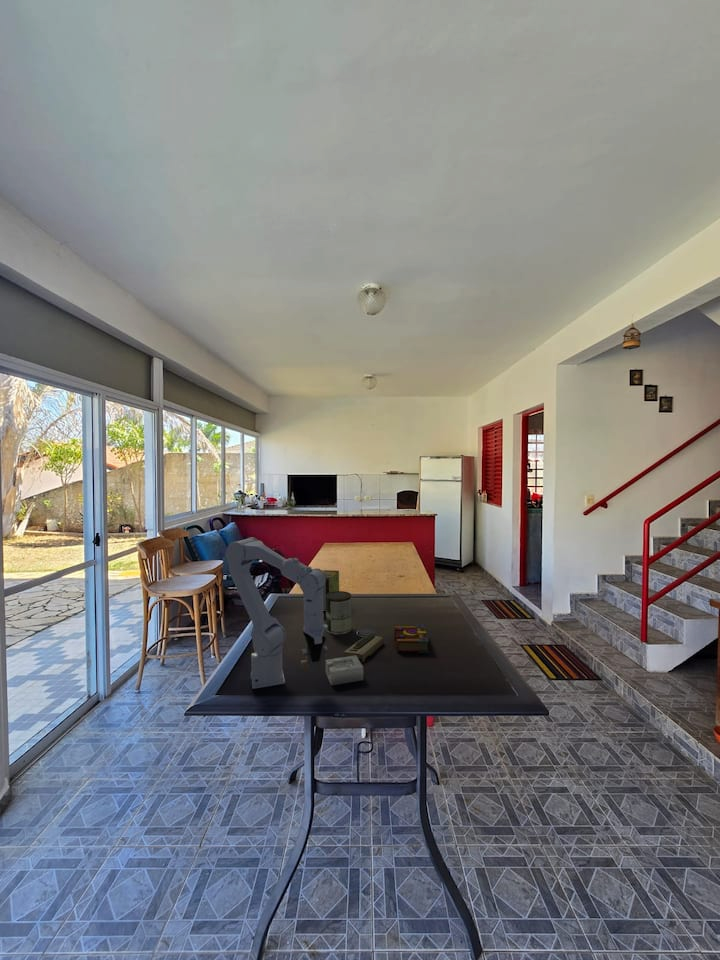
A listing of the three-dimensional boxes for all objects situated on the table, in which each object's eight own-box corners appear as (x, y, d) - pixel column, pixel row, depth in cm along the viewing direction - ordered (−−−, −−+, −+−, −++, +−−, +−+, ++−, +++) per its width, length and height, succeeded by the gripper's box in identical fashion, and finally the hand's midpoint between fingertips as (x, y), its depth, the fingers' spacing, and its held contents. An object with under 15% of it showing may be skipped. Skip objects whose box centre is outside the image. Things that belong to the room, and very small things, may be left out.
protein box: (339, 601, 192) (339, 570, 192) (329, 612, 177) (329, 578, 177) (319, 600, 195) (319, 569, 194) (308, 611, 180) (307, 577, 180)
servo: (302, 668, 112) (301, 648, 112) (300, 663, 115) (300, 643, 115) (328, 664, 114) (328, 644, 114) (326, 659, 118) (325, 640, 117)
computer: (364, 640, 148) (364, 632, 148) (384, 645, 144) (383, 636, 144) (342, 658, 134) (342, 648, 134) (363, 663, 130) (362, 654, 130)
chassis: (331, 685, 116) (331, 672, 116) (325, 672, 124) (325, 659, 124) (363, 679, 119) (363, 666, 119) (356, 667, 127) (355, 655, 127)
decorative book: (396, 654, 137) (396, 639, 137) (393, 635, 153) (393, 622, 153) (429, 654, 136) (429, 639, 136) (422, 634, 152) (422, 622, 152)
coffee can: (320, 630, 157) (320, 595, 157) (336, 622, 165) (336, 589, 165) (341, 636, 151) (340, 600, 151) (356, 628, 159) (356, 593, 159)
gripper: (332, 619, 109) (333, 667, 109) (322, 602, 123) (323, 645, 123) (307, 622, 107) (308, 671, 107) (299, 605, 121) (300, 649, 121)
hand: (314, 658), depth 115 cm, fingers closed on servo, 3 cm apart
